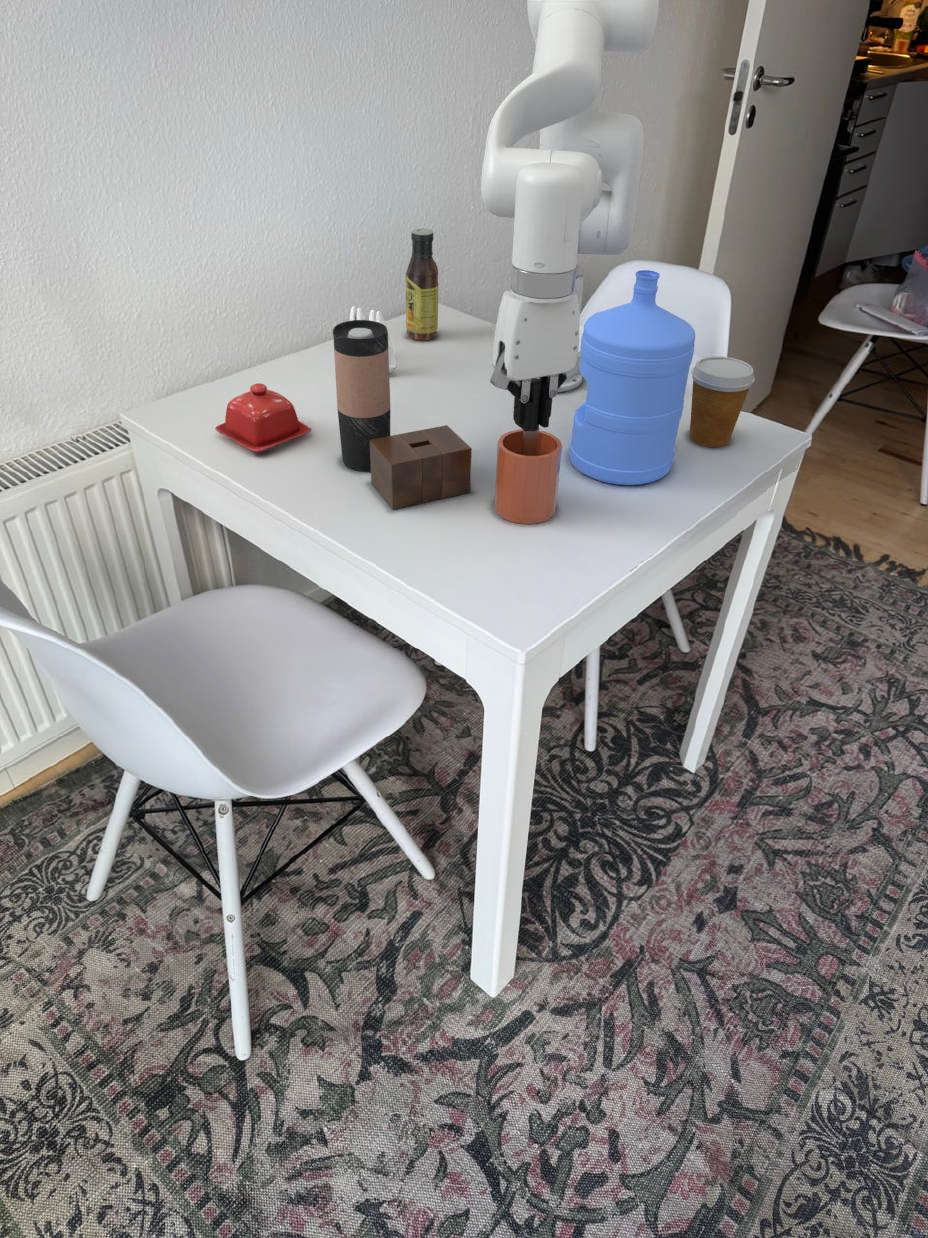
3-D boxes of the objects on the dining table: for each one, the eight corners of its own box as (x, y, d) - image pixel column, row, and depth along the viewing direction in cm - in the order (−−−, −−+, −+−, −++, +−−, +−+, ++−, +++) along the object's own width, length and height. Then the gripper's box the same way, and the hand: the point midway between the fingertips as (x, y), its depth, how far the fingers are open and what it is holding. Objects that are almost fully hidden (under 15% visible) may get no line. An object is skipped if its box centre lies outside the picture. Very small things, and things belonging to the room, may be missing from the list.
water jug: (691, 464, 135) (730, 275, 118) (630, 499, 126) (662, 300, 109) (610, 430, 144) (634, 249, 127) (547, 461, 135) (565, 271, 118)
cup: (535, 488, 128) (541, 424, 122) (566, 516, 122) (573, 450, 116) (484, 500, 125) (487, 435, 119) (512, 529, 119) (517, 462, 113)
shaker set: (399, 376, 159) (398, 314, 152) (379, 381, 157) (377, 319, 150) (364, 355, 167) (362, 295, 160) (345, 359, 165) (341, 299, 158)
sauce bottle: (405, 330, 177) (404, 225, 165) (436, 330, 178) (437, 225, 166) (406, 342, 172) (405, 234, 160) (438, 342, 173) (439, 234, 161)
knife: (529, 484, 123) (538, 376, 113) (537, 490, 121) (546, 382, 112) (515, 487, 122) (523, 379, 113) (523, 493, 121) (531, 384, 111)
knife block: (446, 468, 132) (446, 424, 128) (470, 492, 127) (471, 448, 123) (371, 484, 128) (369, 439, 124) (392, 510, 122) (391, 464, 118)
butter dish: (316, 436, 139) (312, 385, 134) (256, 460, 133) (249, 407, 127) (271, 413, 146) (265, 363, 140) (211, 435, 139) (203, 384, 134)
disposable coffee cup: (744, 433, 144) (761, 361, 137) (732, 457, 138) (750, 383, 130) (687, 421, 147) (700, 350, 140) (672, 444, 141) (686, 371, 133)
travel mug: (399, 453, 136) (397, 323, 123) (379, 476, 130) (374, 342, 118) (353, 445, 137) (346, 316, 125) (332, 467, 132) (322, 334, 119)
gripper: (582, 265, 110) (568, 404, 122) (468, 279, 104) (464, 424, 116) (616, 282, 105) (598, 426, 116) (498, 298, 99) (490, 448, 110)
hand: (531, 424), depth 116 cm, fingers closed on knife, 2 cm apart
